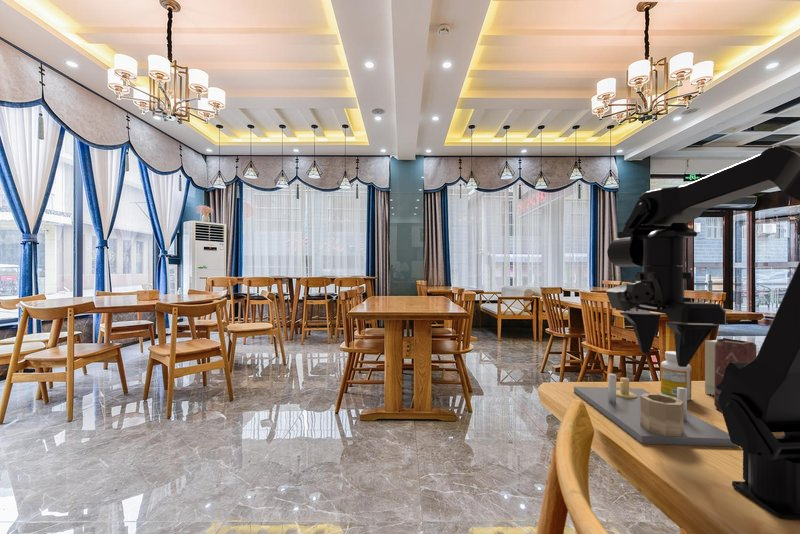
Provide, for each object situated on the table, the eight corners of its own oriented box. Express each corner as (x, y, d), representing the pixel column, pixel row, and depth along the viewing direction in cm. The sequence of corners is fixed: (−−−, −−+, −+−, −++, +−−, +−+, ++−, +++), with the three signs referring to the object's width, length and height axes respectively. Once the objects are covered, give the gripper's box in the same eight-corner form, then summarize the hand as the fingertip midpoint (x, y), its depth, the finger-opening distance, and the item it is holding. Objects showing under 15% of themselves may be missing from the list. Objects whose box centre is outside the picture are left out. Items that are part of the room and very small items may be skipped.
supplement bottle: (673, 392, 84) (673, 349, 85) (697, 400, 79) (697, 355, 79) (654, 393, 83) (655, 350, 83) (678, 402, 78) (678, 356, 78)
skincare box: (725, 399, 80) (725, 343, 80) (703, 393, 84) (703, 340, 84) (745, 397, 81) (746, 342, 81) (723, 391, 86) (723, 339, 86)
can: (766, 419, 69) (766, 344, 69) (727, 415, 71) (727, 342, 71) (743, 407, 75) (743, 339, 75) (707, 404, 77) (708, 337, 77)
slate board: (739, 446, 58) (739, 404, 58) (641, 443, 59) (642, 401, 59) (641, 393, 83) (641, 364, 83) (573, 391, 84) (574, 362, 84)
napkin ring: (690, 436, 58) (691, 405, 59) (655, 435, 59) (655, 404, 59) (666, 422, 64) (667, 393, 64) (634, 421, 64) (634, 392, 64)
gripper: (588, 266, 71) (587, 346, 71) (648, 264, 53) (647, 373, 52) (647, 267, 71) (646, 348, 71) (729, 265, 52) (728, 375, 52)
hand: (662, 359), depth 61 cm, fingers open, 9 cm apart
